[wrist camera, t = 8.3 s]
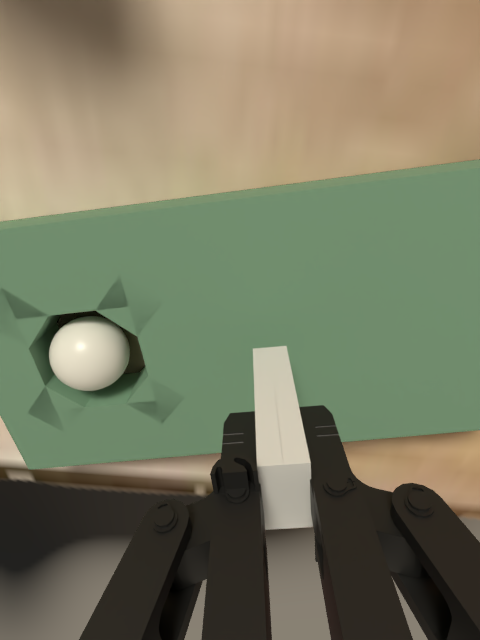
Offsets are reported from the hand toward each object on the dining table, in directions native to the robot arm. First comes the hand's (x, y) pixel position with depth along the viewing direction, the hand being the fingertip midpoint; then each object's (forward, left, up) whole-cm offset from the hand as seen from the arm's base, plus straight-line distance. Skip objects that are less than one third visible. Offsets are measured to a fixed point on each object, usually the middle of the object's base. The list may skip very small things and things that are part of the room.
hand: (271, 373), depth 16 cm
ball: (-9, 0, -3) cm, 10 cm away
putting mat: (-1, 0, -5) cm, 5 cm away
